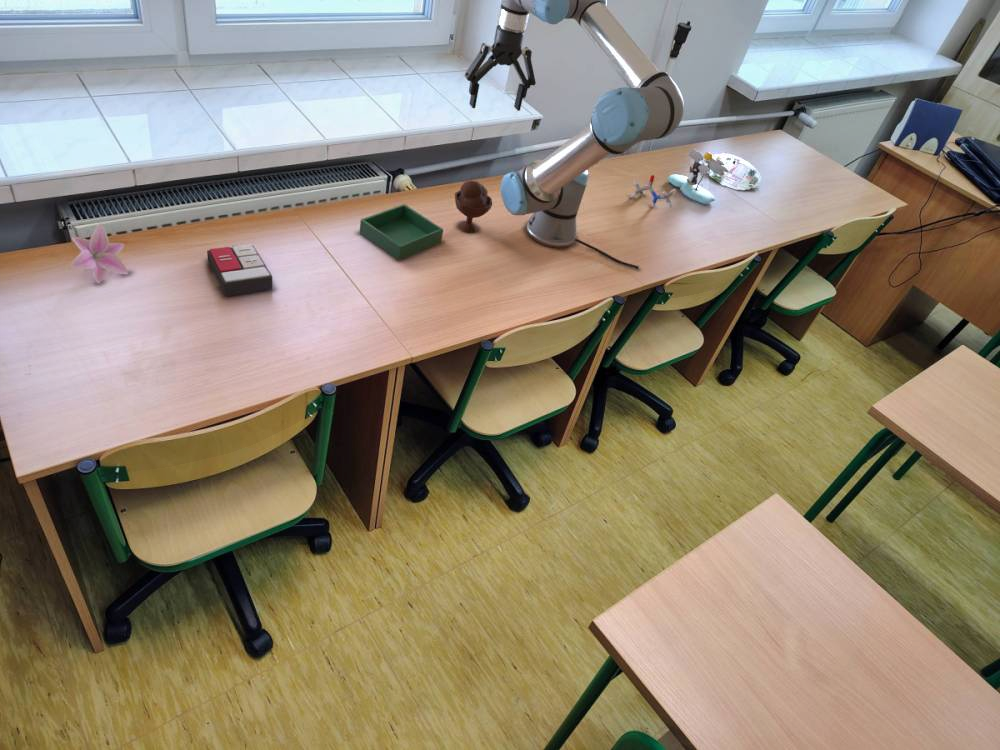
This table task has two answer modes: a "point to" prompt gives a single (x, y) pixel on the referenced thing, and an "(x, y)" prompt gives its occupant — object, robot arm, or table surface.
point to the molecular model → (653, 192)
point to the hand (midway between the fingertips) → (494, 107)
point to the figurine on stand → (690, 183)
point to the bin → (401, 231)
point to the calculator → (239, 269)
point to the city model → (736, 172)
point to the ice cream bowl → (472, 203)
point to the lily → (98, 254)
